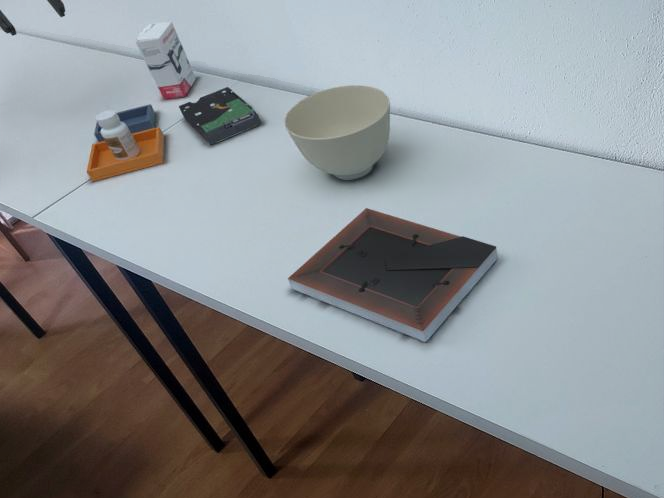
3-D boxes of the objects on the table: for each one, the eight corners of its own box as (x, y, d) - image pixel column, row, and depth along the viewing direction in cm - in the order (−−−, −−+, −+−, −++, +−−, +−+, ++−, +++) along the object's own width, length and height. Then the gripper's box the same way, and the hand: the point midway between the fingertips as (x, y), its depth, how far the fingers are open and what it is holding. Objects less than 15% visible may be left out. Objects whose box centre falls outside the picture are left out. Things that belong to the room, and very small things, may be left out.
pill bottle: (110, 160, 114) (86, 119, 108) (128, 147, 116) (106, 107, 110) (128, 163, 112) (104, 122, 106) (146, 150, 114) (123, 109, 109)
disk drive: (183, 120, 122) (210, 146, 113) (177, 106, 120) (203, 132, 111) (233, 99, 126) (263, 124, 117) (227, 85, 124) (257, 109, 115)
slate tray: (99, 144, 120) (93, 134, 118) (103, 127, 124) (97, 117, 123) (154, 130, 121) (149, 120, 119) (155, 113, 126) (150, 104, 124)
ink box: (186, 97, 129) (158, 37, 120) (162, 100, 129) (133, 40, 121) (197, 78, 135) (171, 19, 126) (174, 81, 135) (147, 23, 126)
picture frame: (498, 260, 83) (370, 220, 92) (496, 245, 81) (366, 206, 90) (426, 345, 74) (293, 291, 84) (422, 330, 72) (287, 277, 82)
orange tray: (92, 181, 110) (86, 171, 109) (98, 153, 117) (92, 143, 115) (163, 163, 112) (158, 152, 110) (164, 136, 118) (159, 126, 117)
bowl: (402, 190, 97) (388, 129, 89) (299, 205, 97) (277, 146, 90) (402, 136, 108) (390, 78, 100) (309, 150, 108) (290, 93, 101)
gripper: (-82, -65, 100) (-8, 25, 102) (8, -92, 106) (76, -7, 108) (-67, -32, 106) (2, 52, 109) (17, -59, 112) (80, 21, 115)
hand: (38, 22), depth 108 cm, fingers open, 8 cm apart
